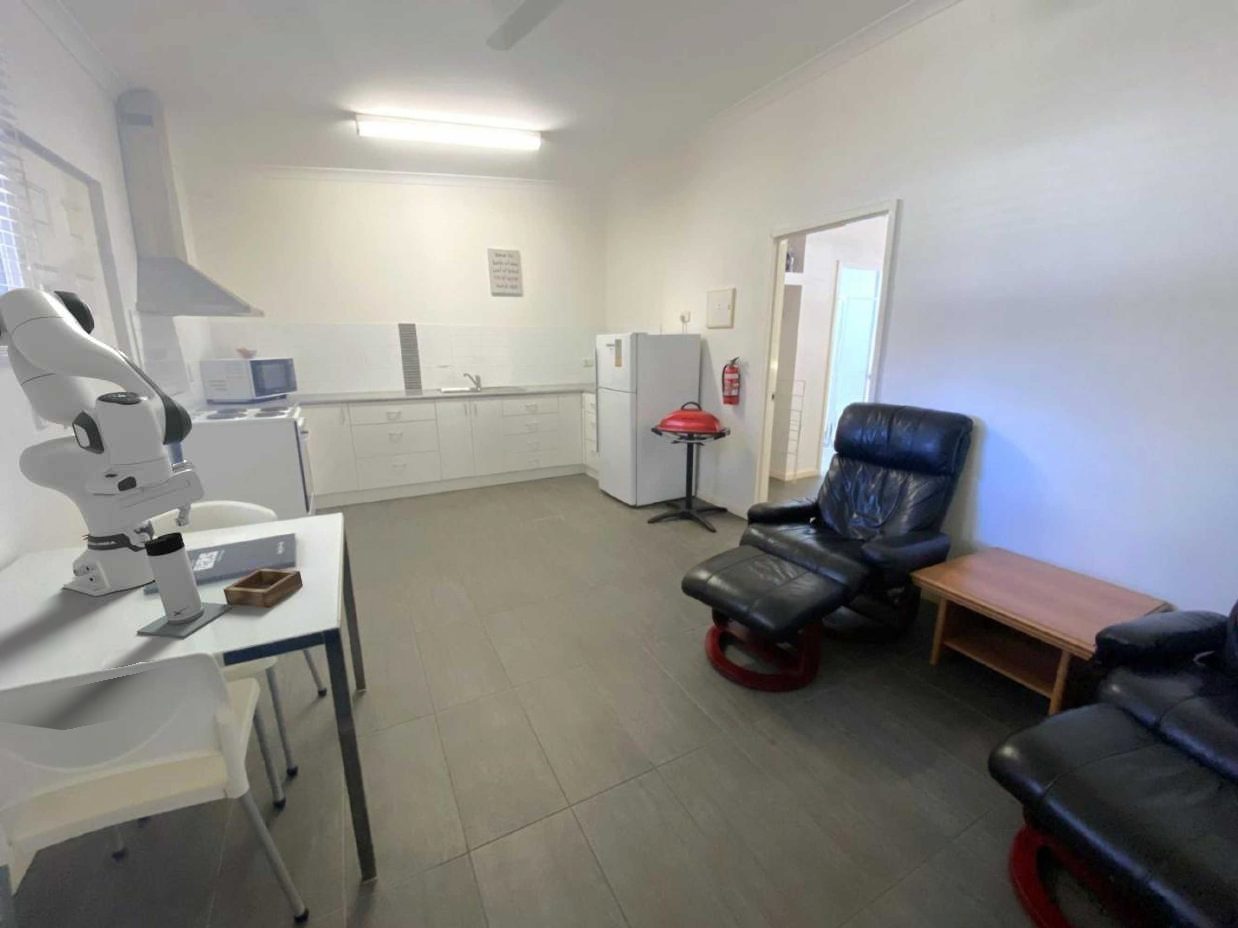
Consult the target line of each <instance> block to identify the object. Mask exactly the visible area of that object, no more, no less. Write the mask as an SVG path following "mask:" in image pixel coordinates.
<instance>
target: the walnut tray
mask: <svg viewBox="0 0 1238 928" xmlns="http://www.w3.org/2000/svg"><path fill="white" fill-rule="evenodd" d="M263 586H269V587H267V588H265V589H263V588H262V589H261V587H263ZM302 587H303V579H302V575H301V571H300V570H291V569H276V568H275V569H274V568H265V567H264V568H263V567H261V568H257V569H256V570H255V571H252V572H251V573H249V574H247V575H246V576H244V577H242V578H240V579H239V580H237V581H235V582H233V583H232V584H230V585H228V586H227V587H225V588H223V589H222V590H223V594H224V597H225V601H226V604H230V605H234V606H243V607H255V608H268V609H270V608H271V607H273V606H274V605H276V604H278V603H280V602H281V600H283V599H285V598H286V597H288V596H290V594H292V593H294V592H296V590H298V589H299V588H302Z"/></svg>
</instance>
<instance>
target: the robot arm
mask: <svg viewBox="0 0 1238 928" xmlns="http://www.w3.org/2000/svg"><path fill="white" fill-rule="evenodd" d="M94 329H95V316H94V312H93V310H92V309H91V307H90V306H89V304H87V302H86V301H85V300H84V298H82V297H81V296H80V295H78V294H77V293H75V292H71V291H64V290H63V291H62V290H54V291H53V292H52V291H51V292H50V291H44V290H41V289H36V288H33V287H32V288H30V287H22V288H14V289H11V290H9V291H7V292H4V293H1V294H0V347H3V346H4V347H5V346H7V348H6V349H7V350H6V352H7V356H8V358H9V362H10V366H11V368H12V370H13V371H12V372H13V373H14V375H15V378H16V380H17V382H18V383H19V385H20V388H21V389H22V391H23V392H24V395H25V396H26V398H27V400H28V401H29V403H30V404H31V406H32V408H33V410H34V411H35V413H36V414H37V416H39V417H40V418H42V419H43V420H44V421H46V422H48V423H51V424H52V423H53V424H57V425H63V426H67V427H70V428H72V430H73V433H74V435H70V436H64V437H58V438H57V437H56V438H52V439H49V440H45V441H43V442H39V443H37V444H34V445H31V446H28V447H26V448H25V449H23V451H22V452H21V453H20V456H19V460H18V464H19V465H18V466H19V469H20V472H21V473H22V475H23V477H25V478H26V479H27V480H28V481H29V482H31V483H33V484H35V485H37V486H39V487H43V488H48V489H50V490H54V491H56V492H59V493H61V494H62V495H64V496H66V497H67V498H68V499H70V500H71V501H72V502H73V503H74V504H75V506H76V508H78V509H79V512H80V514H81V517H82V518H83V520H84V524H85V525H86V527H87V530H88V533H87V534H84V535H82V538H83V537H85V538H83V541H86V540H87V541H86V543H87V544H86V545H87V547H86V549H85V550H84V551H83V552H82V553H81V555H79V556H78V557H77V558H76V559H75V560H73V562H72V573H73V575H74V576H73V577H71V578H69V579H67V580H66V581H65V582H64V583H63V587H64V588H66V589H68V590H73V591H75V592H78V593H83V594H86V595H90V596H92V597H99V596H104V595H107V594H110V593H113V592H117V591H118V592H119V591H124V590H129V589H133V588H137V587H140V586H142V585H146V584H148V583H151V582H153V580H154V579H155V578H154V575H153V572H152V569H151V566H150V562H149V559H148V556H147V551H146V549H145V545H144V543H145V542H146V541H148V540H149V541H151V540H153V539H156V538H158V537H159V536H157V535H155V531H154V529H155V528H154V525H153V523H152V521H151V520H150V519H152V518H155V517H158V516H161V515H163V514H166V513H168V512H171V511H174V510H176V509H177V510H178V516H177V517H175V518H174V521H175V524H176V527H185V526H187V525H189V524H190V521H189V515H190V512H191V511H192V510H191V509H192V506H191V504H193V503H195V502H197V501H201V500H202V499H204V497H205V494H206V491H205V488H204V485H203V483H202V481H201V479H200V476H199V474H198V473H197V469H196V466H195V464H194V463H192V462H190V461H187V460H182V461H178V462H176V463H171V459H170V457H169V452H168V451H167V449H166V448H165V446H169V445H177V444H178V445H179V444H181V442H183V441H184V440H186V437H188V436H189V434H190V433H191V431H192V428H193V423H192V420H191V419H192V418H191V416H190V414H189V413H188V411H187V410H186V409H185V407H184V406H183V405H182V404H180V403H179V402H177V401H176V400H175V399H173V398H172V397H170V396H169V395H168V394H167V393H165V392H164V391H163V390H162V388H160V386H158V385H157V384H156V383H155V382H154V381H153V380H152V379H151V378H150V377H149V376H148V375H147V374H146V373H145V372H144V371H143V370H142V369H141V368H140V367H139V366H138V365H137V364H136V363H135V362H134V361H133V360H132V359H131V358H130V357H129V356H127V355H126V353H124V352H123V351H121V350H119V348H115V347H112V346H110V345H107V344H105V343H103V342H101V341H99V340H98V339H96V338H95V337H94V336H92V335H91V333H92V332H93V331H94ZM88 378H89V379H97V380H100V381H101V380H102V381H105V382H106V381H107V382H108V383H113V384H115V385H116V386H117V385H118V386H120V388H122V389H123V391H117V392H115V391H114V392H109V393H105V394H101V395H99V396H98V394H97V393H96V391H95V389H94V388H93V387H92V385H91V383H90V382H89V380H88ZM154 581H155V580H154Z"/></svg>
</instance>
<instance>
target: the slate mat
mask: <svg viewBox="0 0 1238 928" xmlns="http://www.w3.org/2000/svg"><path fill="white" fill-rule="evenodd" d="M201 602H202V606H203V609H204V613H203V614H202V615H201V616H200V617H199V618H197V619H195V620H193V621H191V622H188V623H185V624H179V625H172V624H170V623H169V622H168V620H167V616H166V614H165V615H163V616H161V617H159V618H158V619H156V620H154V621H151V622H150V623H149V624H147V625H145V626H143V627H141V628H140V629H138V630H137V631H136V634H139V635H149V636H160V637H171V638H181V639H185V638H187V637H189V636H190V635H192V634H194V633H195V632H197V631H199V630H200V629H202V628H203V627H205V626H207V624H210V623H211V622H213V621H214V620H216V619H217V618H219V617H220V616H221V617H222V615H224V614H226V613H228V612H229V611H230V610H232V609H234V608H235V605H230V604H227V603H217V602H216V603H215V602H203V601H201Z"/></svg>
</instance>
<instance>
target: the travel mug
mask: <svg viewBox="0 0 1238 928" xmlns="http://www.w3.org/2000/svg"><path fill="white" fill-rule="evenodd" d="M157 537H158V538H156V539H153V540H151V541H149V540H148V541H146V542H145V543H144V545H145V549H146V551H147V556H148V559H149V562H150V566H151V569H152V572H153V575H154V578H155V580H154V582H155V584H156V588H157V590H158V594H159V597H160V600H161V603H162V606H163V609H164V614H165V615H166V616H167V620H168V622H169V623H170V624H172V625H179V624H185V623H188V622H191V621H193V620H195V619H197V618H199V617H200V616H201V615H202V614H203V613H204V609H203V606H202V602H203V601H202V600H201V596H200V593H199V592H200V591H199V589H198V586H197V582H196V579H195V575H194V572H193V568H192V565H191V561H190V558H189V554H188V551H187V548H186V545H185V543H184V538H183V534H182V533H181V532H180V531H179V532H172V533H171V532H170V533H166V534H162V535H159V536H157Z"/></svg>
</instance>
